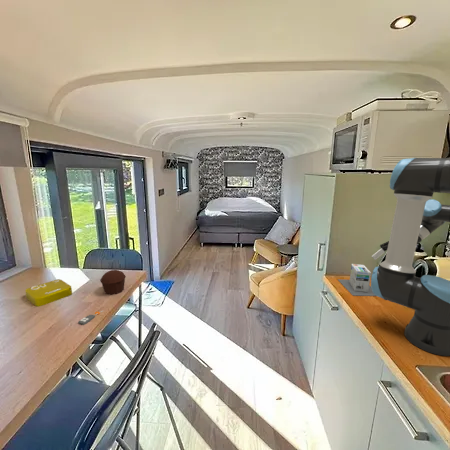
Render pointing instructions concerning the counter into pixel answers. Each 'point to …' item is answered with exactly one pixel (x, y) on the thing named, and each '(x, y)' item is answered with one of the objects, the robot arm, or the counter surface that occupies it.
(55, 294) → the element tile
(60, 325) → the counter surface
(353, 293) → the mat
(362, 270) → the light bulb box
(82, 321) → the key chain
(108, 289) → the muffin
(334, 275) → the counter surface
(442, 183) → the robot arm
